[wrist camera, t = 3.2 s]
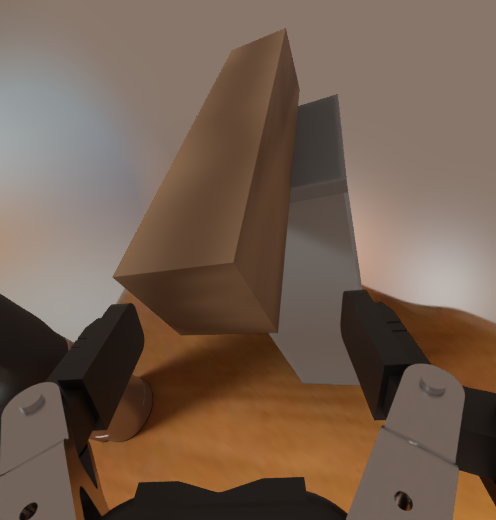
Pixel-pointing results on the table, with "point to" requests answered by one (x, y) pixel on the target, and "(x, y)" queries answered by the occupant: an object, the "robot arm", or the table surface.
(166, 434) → the table surface
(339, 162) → the stand
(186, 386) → the table surface
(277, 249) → the walnut bar
